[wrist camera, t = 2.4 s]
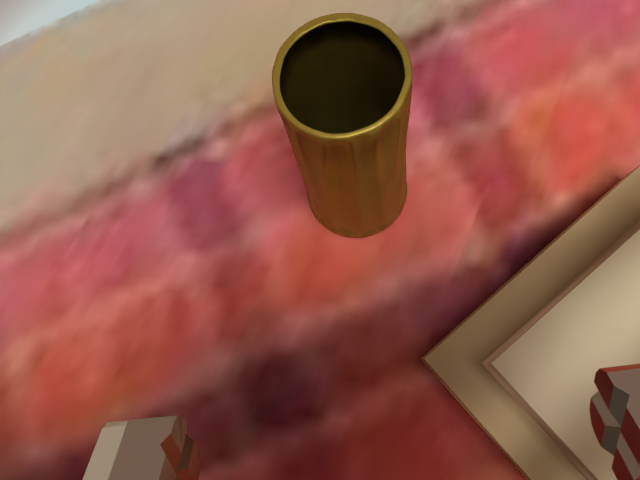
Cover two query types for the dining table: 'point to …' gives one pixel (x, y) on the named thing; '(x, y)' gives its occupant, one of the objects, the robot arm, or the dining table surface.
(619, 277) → the pedestal
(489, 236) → the dining table surface
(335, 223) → the vase
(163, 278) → the dining table surface
